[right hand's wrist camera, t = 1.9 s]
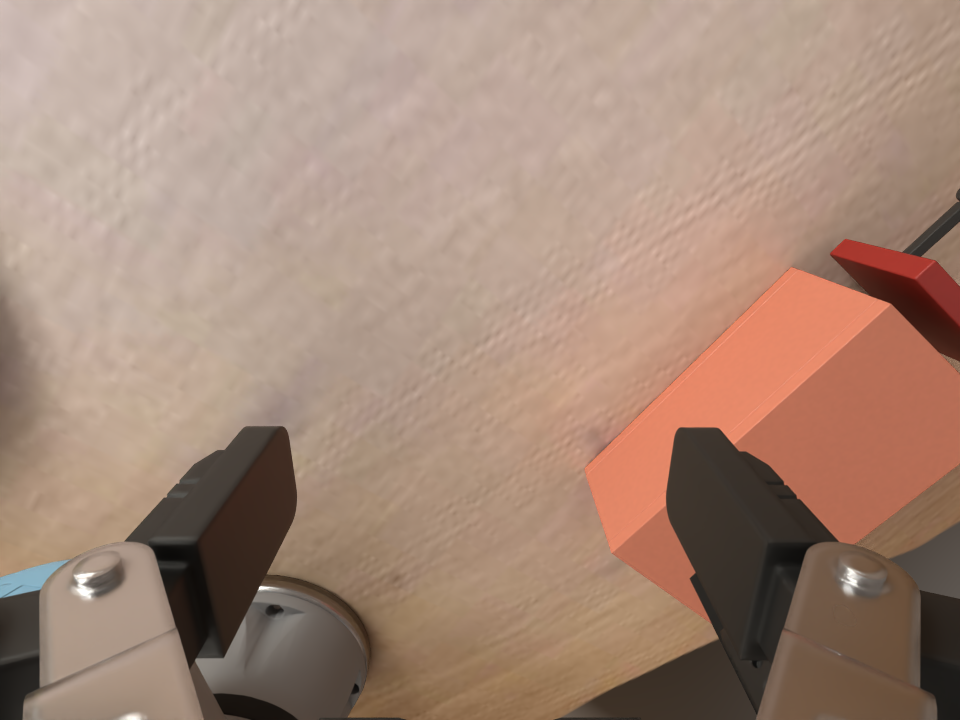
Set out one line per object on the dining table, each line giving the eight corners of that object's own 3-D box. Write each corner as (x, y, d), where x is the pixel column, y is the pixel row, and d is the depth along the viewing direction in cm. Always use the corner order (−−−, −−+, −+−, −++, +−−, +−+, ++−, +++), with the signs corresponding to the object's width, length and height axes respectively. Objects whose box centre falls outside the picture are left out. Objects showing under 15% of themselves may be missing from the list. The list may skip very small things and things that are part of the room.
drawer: (923, 162, 31) (1041, 165, 24) (1011, 262, 33) (1141, 290, 26) (633, 440, 37) (666, 501, 31) (722, 510, 39) (770, 581, 33)
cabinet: (791, 266, 34) (891, 303, 26) (890, 362, 36) (1010, 425, 28) (583, 468, 39) (611, 553, 31) (681, 541, 41) (731, 638, 33)
